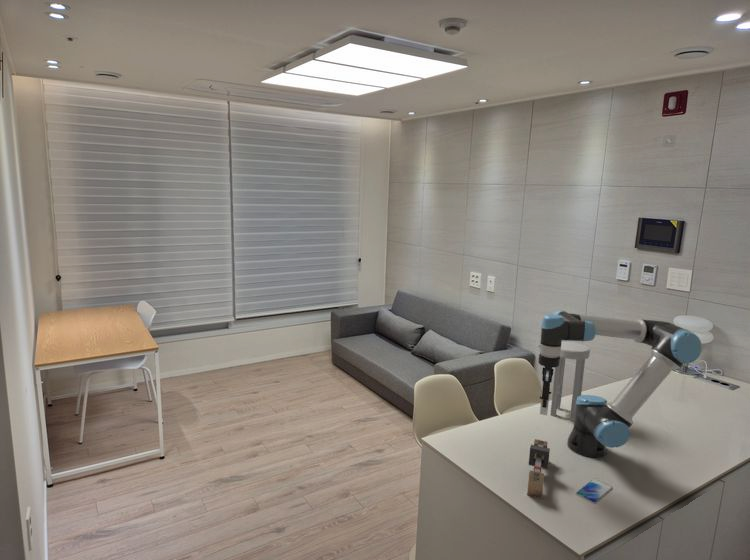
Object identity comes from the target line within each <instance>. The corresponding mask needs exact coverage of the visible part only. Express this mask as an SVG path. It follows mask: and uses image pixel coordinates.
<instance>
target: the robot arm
mask: <svg viewBox="0 0 750 560" xmlns="http://www.w3.org/2000/svg"><path fill="white" fill-rule="evenodd" d="M596 336H602V337H610V338H619V339H626V340H633V341H634V342H635V343H639V344H645V345H648V346H650V347H651V348H650V353H651V355H650V356H649V357H648V359H646V361H645V362H644V364H642V366H641V367H640V368H639V369H638V371H637V372H636V373H635V374H634V376H633V377H632V378H631V379H629V381H628V382H627V384H626V385H625V387H623V388H622V390H621V391H620V392H619V394H617V396H616V397H615V398H614V400H613V401H612V402H608V400H607V399H606V398H604V397H601V396H598V395H593V394H581V396H579V397H578V398H577V401H576V409H575V419H574V421H573V428H572V430H571V432H570V433H569V436H568V438H567V442H566V443H567V444H566V445H567V447H568V448H569V449H570V450H571V451H572V452H574V453H576V454H578V455H581V456H584V457H588V458H589V457H591V458H600V457H601V458H602V457H603V456H605V455H606V453H607V448H620V447H622V446H624V445H625V444H626V443H628V441H629V439H630V437H631V430H630V428H631V427H632V426H633V424H634V421H633V418H634V416H635V415H636V414H637V413H638V411H639V410H640V409H641V408H642V406H644V405H645V403H646V402H647V401H648V400H649V398H651V396H652V395H653V393H654V392H655V391H656V390H657V389H658V388H659V386H661V384H662V383H663V382H664V381H665V379H666V378H667V377H668V376H669V375H670V373H671V372H672V371H673V370H677V369H681V367H682V366H683V365H684V364H690V363H694V362H696V361H697V360H698V358H700V356H701V354H702V350H703V347H702V341H701V339H700V337H699V336H698V335H697V334H695V333H694V332H692V331H690V330H688V329H686V328H684V327H682V326H681V327H680V326H678V325H676V324H674V323H671V322H668V321H664V320H655V319H654V320H653V319H641V318H638V319H635V320H629V319H621V318H619V319H618V318H613V317H612V318H610V317H603V316H595V315H587V314H578V313H577V314H576V313H568V312H567V311H565V310H556V311H554V312H553V313H547V314H544V316H543V317H542V322H541V331H540V344H538V346H537V347H538V348H539V355H538V364H539V365H540V366H542V371H541V372H542V373H541V374H542V379H541V380H542V391H541V396H539V399H541V400H540V410H539V414H540V415H543V416H548V413H549V412H548V410H549V401H550V395H551V394H552V391H550V390H551V388H550V387H551V383H552V381H553V376H554V371H555V367H558V366H559V362H560V357H559V356H560V353H561V343H562V342H590V341H593V340H594V339H595V337H596Z"/></svg>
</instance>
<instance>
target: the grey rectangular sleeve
mask: <svg viewBox="0 0 750 560" xmlns="http://www.w3.org/2000/svg"><path fill="white" fill-rule="evenodd" d="M550 451H551V448H549V447H547V448H545V447H540V446H536V445H534V444H530V447H529V458H528V466H533V467H534V465H535V462H536V458H534V456H535V454H540V455H544V460H542V461H541V467H542V468H541V469H545V470H548V469H549V461H550Z"/></svg>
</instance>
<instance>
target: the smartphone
mask: <svg viewBox="0 0 750 560" xmlns="http://www.w3.org/2000/svg"><path fill="white" fill-rule="evenodd" d="M612 490H613V486H612V485H610V484H607V483H606V482H604V481H602V480H599V479H597V478H592V479H590V480H589V482H588V483H586V484H585V485H583V486H582V487H581V488H580V489H579V490H578V491H576V492H575V495H576V496H578V497H580V498H582V499H583V500H586V501H587V502H590V503H591V504H594V505H595V504H597V503H598V502H599V501H600V500H601V499H603V498H604V497H605V496H606V495H607V494H608V493H610V491H612Z"/></svg>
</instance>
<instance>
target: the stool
mask: <svg viewBox="0 0 750 560" xmlns="http://www.w3.org/2000/svg"><path fill="white" fill-rule="evenodd" d="M590 353H591V348H589V347H588V346H587V345H584V344H582V343H579V342H575V341H562V343H561V353H560V356H559V357H560V362H559V366H558V367H555V368H554V374H553V376H554V377H553V386H552V393H551V394H552V396H551V405H550V414H549V415H550V416H552V417H556V416H557V413H558V409H559V410H560V409H561V404H562V402H561V401H562V395H563V386H564V385H563V384H564V375H565V366H566V359H569V360H576V361H575V371H574V377H573V378H574V379H573V387H572V388H573V390H572V397H571V405H570V415H569V421H570V422H574V419H575V409H576V401H577V398H578V397H579V396H581V395H582V392H583V391H582V390H583V382H584V372H585V363H586V360H587V359H589V357H590Z"/></svg>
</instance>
